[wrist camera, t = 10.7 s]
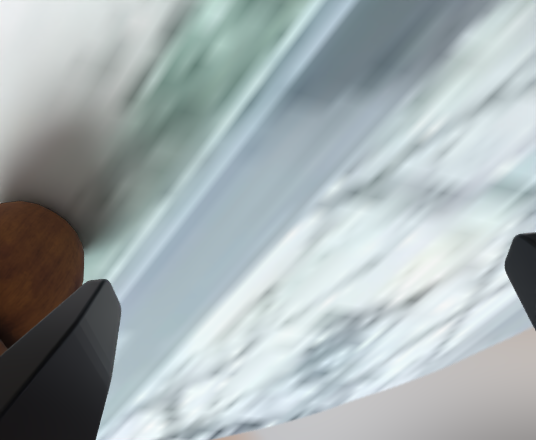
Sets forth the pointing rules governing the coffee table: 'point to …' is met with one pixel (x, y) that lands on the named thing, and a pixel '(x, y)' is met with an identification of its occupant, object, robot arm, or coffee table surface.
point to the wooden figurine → (34, 267)
